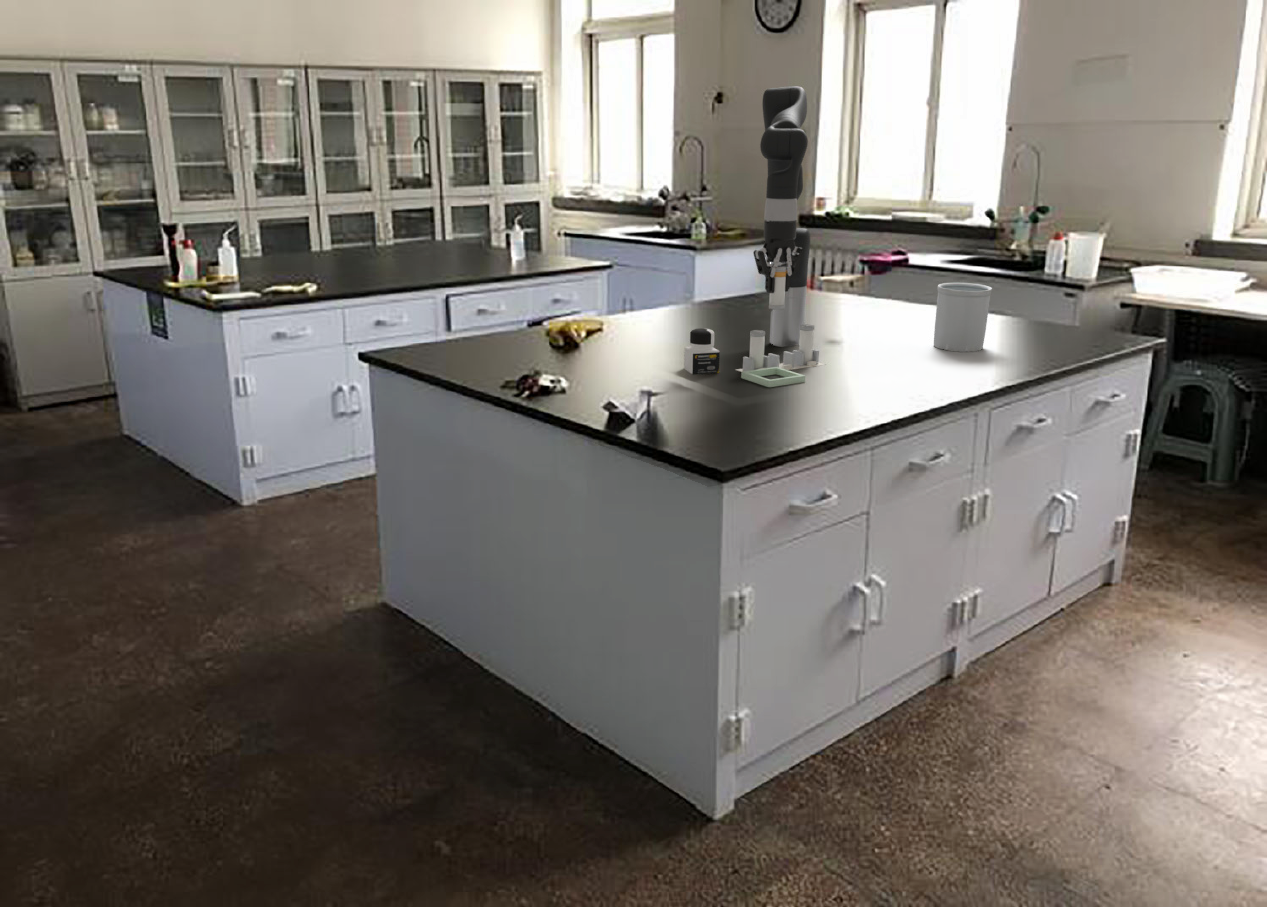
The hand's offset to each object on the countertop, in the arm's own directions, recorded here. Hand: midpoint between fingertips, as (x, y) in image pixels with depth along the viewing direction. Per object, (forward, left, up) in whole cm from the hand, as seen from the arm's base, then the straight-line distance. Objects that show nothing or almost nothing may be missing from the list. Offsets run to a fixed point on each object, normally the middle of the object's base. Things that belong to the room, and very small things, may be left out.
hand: (777, 291), depth 248 cm
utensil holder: (-10, +75, -23) cm, 80 cm away
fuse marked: (0, 0, -4) cm, 4 cm away
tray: (0, 0, -23) cm, 23 cm away
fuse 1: (-10, +3, -21) cm, 24 cm away
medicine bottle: (-17, -10, -23) cm, 30 cm away
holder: (-10, +10, -23) cm, 27 cm away
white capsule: (-10, +19, -21) cm, 30 cm away
